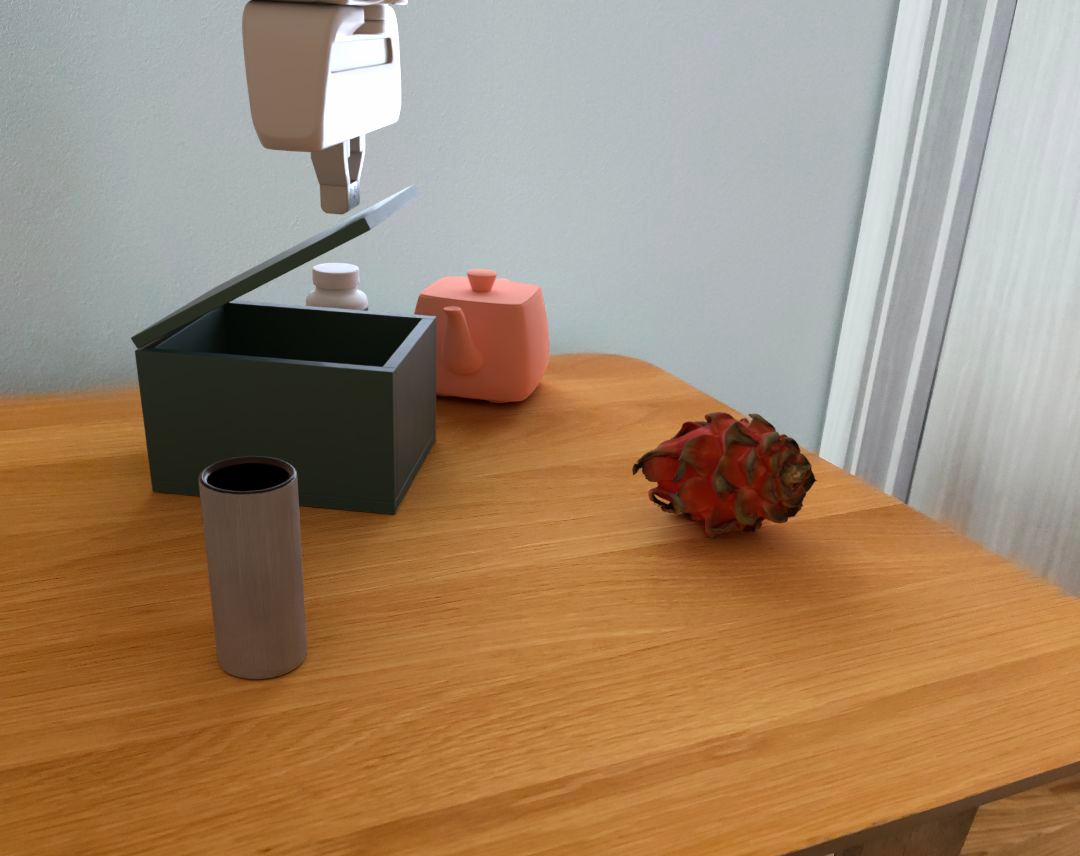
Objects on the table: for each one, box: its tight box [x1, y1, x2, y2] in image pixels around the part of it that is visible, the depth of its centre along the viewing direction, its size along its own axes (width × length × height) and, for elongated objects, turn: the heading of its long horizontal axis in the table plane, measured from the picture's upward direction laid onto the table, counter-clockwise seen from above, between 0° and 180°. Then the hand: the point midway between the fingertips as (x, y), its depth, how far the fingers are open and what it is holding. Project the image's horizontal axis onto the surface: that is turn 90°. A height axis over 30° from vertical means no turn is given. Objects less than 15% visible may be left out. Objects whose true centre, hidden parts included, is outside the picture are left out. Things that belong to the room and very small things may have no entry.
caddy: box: [134, 299, 437, 515], centre depth 75 cm, size 17×14×10 cm
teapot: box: [413, 268, 550, 404], centre depth 92 cm, size 12×18×10 cm, turn 167°
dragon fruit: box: [632, 411, 818, 538], centre depth 70 cm, size 8×8×12 cm
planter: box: [199, 456, 308, 680], centre depth 53 cm, size 4×4×10 cm
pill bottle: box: [305, 262, 369, 311], centre depth 94 cm, size 5×5×10 cm
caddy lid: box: [130, 183, 420, 349], centre depth 71 cm, size 18×14×1 cm
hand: (340, 210), depth 69 cm, fingers closed
